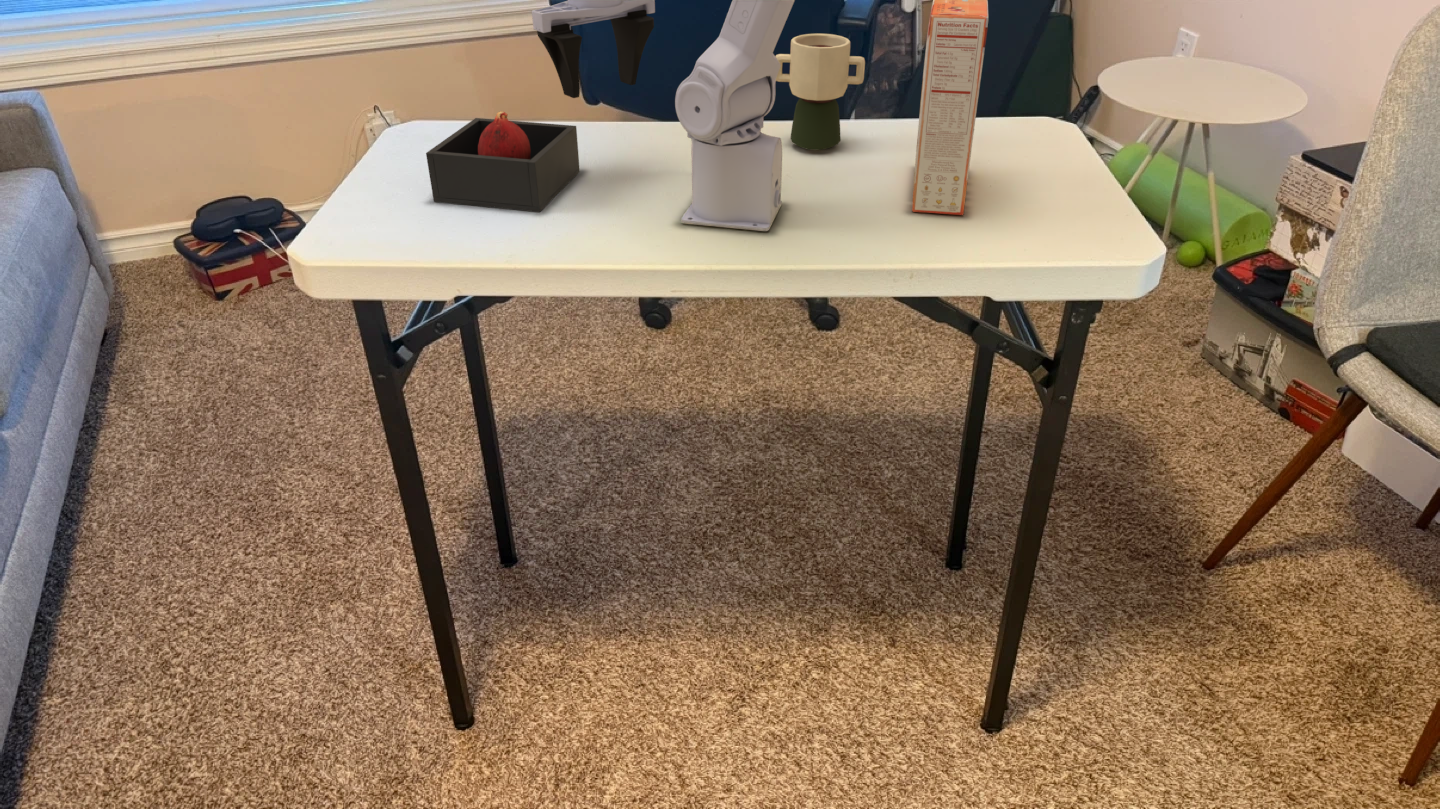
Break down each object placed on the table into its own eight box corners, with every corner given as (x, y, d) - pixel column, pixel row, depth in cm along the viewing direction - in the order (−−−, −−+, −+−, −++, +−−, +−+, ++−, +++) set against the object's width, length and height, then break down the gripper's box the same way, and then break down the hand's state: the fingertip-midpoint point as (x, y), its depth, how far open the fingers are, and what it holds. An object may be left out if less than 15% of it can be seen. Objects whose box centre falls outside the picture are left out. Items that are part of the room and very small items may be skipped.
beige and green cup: (858, 138, 131) (866, 34, 124) (858, 157, 125) (866, 49, 118) (774, 135, 132) (777, 31, 125) (769, 154, 126) (773, 46, 119)
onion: (522, 192, 113) (515, 122, 109) (474, 189, 114) (464, 118, 110) (540, 174, 118) (533, 106, 114) (494, 171, 119) (485, 103, 115)
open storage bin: (579, 172, 120) (576, 125, 117) (539, 212, 110) (534, 162, 107) (481, 163, 123) (475, 117, 120) (433, 201, 113) (425, 152, 110)
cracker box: (913, 168, 122) (934, -17, 110) (965, 172, 121) (991, -15, 109) (907, 213, 110) (928, 11, 99) (963, 217, 109) (992, 14, 98)
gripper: (625, -55, 112) (631, 70, 119) (511, -40, 104) (525, 93, 112) (665, -47, 108) (668, 83, 115) (548, -30, 100) (560, 108, 107)
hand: (600, 89), depth 113 cm, fingers open, 7 cm apart
